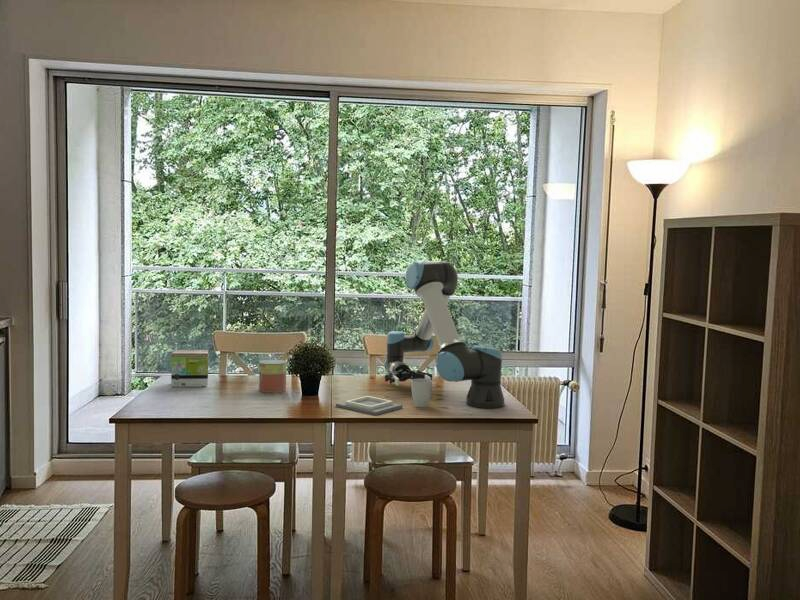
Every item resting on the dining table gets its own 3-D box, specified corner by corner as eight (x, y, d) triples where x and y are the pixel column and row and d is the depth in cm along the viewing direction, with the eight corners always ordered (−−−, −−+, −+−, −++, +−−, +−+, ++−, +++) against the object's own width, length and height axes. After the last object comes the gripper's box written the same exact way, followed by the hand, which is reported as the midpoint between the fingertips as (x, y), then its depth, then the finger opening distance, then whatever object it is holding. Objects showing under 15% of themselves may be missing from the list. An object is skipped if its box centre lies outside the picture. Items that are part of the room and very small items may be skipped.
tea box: (171, 387, 312) (170, 353, 310) (172, 383, 322) (172, 349, 320) (208, 387, 315) (208, 352, 314) (208, 382, 325) (208, 348, 324)
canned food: (258, 387, 317) (258, 359, 316) (285, 386, 320) (285, 359, 319) (259, 392, 306) (259, 364, 305) (286, 392, 309) (287, 363, 308)
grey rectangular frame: (402, 407, 286) (402, 401, 286) (375, 415, 273) (375, 408, 273) (363, 399, 298) (363, 393, 298) (335, 406, 285) (335, 400, 285)
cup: (431, 403, 294) (432, 379, 293) (430, 408, 286) (431, 383, 285) (411, 402, 295) (412, 378, 294) (409, 407, 287) (410, 382, 286)
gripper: (427, 379, 323) (443, 390, 303) (371, 380, 317) (383, 391, 296) (428, 362, 322) (443, 371, 302) (372, 363, 316) (384, 373, 296)
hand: (414, 381), depth 299 cm, fingers open, 13 cm apart
